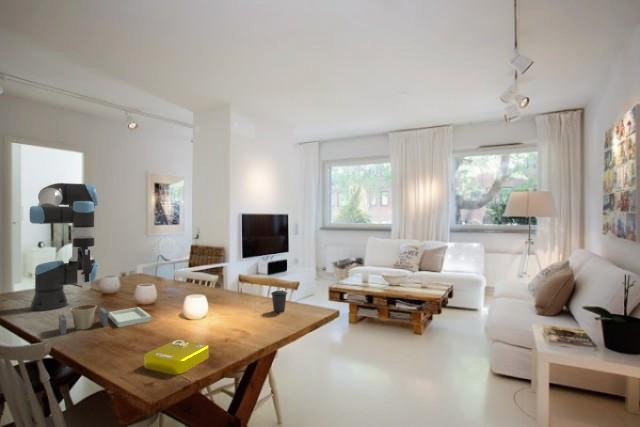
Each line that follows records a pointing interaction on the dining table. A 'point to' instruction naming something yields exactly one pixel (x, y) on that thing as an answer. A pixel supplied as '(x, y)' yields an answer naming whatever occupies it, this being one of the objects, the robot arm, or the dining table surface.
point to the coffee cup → (279, 300)
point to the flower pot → (83, 316)
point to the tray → (129, 317)
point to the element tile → (176, 357)
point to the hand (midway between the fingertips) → (83, 287)
